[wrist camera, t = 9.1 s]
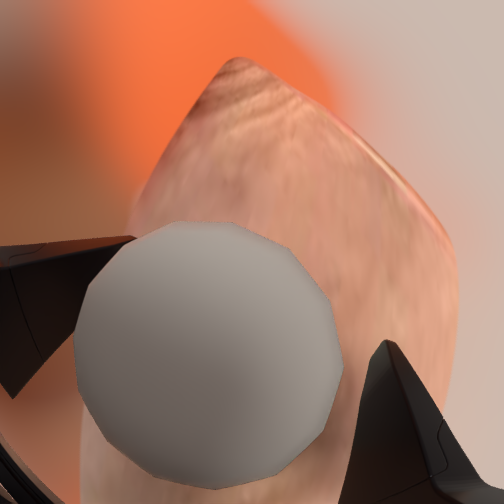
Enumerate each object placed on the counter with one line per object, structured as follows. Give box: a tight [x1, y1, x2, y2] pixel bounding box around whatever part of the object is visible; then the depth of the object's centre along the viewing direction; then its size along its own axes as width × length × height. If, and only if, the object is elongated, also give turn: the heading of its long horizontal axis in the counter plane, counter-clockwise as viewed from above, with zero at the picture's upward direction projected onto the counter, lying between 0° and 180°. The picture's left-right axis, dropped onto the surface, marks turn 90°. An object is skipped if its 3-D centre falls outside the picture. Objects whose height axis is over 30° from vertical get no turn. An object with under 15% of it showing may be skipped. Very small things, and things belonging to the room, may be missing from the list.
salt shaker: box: [73, 221, 344, 490], centre depth 9 cm, size 6×6×13 cm
